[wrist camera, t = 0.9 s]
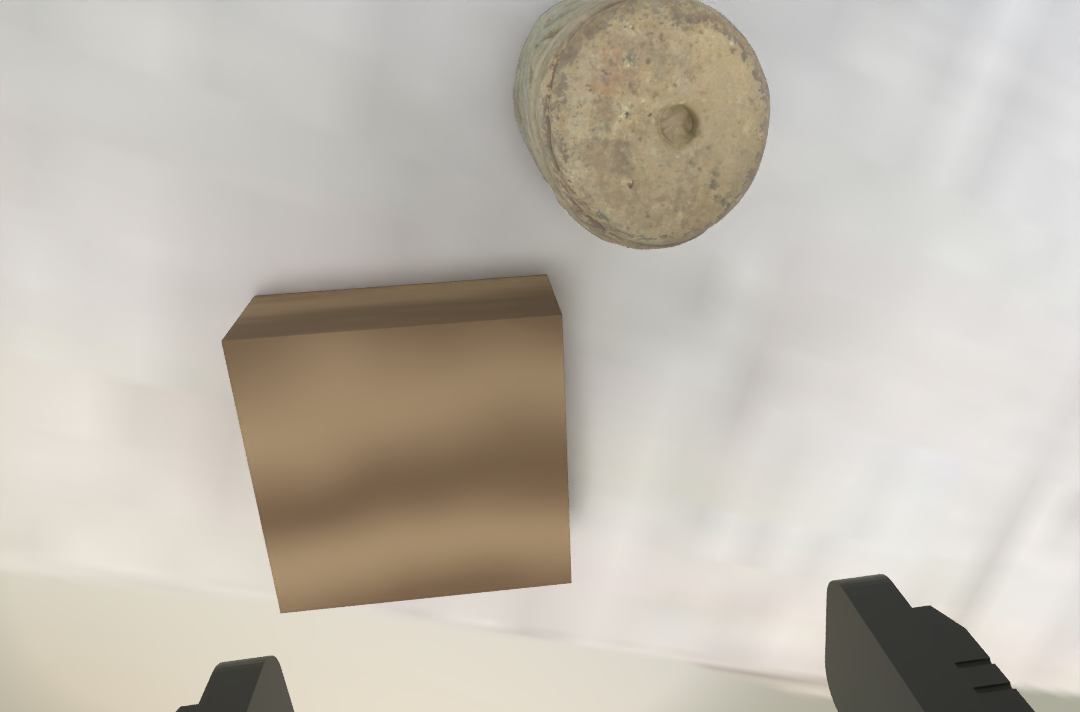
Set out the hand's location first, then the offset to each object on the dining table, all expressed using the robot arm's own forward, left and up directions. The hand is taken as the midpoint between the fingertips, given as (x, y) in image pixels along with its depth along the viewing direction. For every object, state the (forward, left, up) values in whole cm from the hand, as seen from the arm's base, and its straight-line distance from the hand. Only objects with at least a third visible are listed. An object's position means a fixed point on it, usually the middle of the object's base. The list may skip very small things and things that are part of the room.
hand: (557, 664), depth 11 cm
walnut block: (+7, -4, -23) cm, 24 cm away
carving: (-6, +4, -23) cm, 24 cm away
